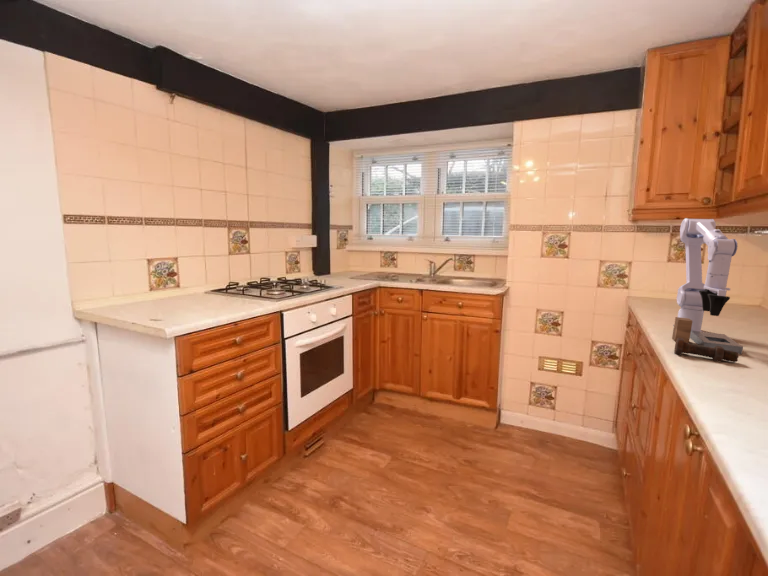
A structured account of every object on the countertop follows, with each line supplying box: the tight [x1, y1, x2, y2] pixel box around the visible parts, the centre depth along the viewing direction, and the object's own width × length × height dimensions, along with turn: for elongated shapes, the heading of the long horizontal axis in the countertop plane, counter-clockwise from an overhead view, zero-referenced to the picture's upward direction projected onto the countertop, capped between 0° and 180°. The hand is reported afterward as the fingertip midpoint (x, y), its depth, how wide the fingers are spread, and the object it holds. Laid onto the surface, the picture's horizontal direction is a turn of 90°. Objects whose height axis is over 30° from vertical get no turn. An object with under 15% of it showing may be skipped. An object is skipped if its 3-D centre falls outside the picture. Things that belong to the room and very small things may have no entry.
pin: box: [671, 316, 692, 343], centre depth 140 cm, size 4×4×8 cm
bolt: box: [673, 338, 740, 363], centre depth 122 cm, size 6×5×15 cm
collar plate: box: [690, 331, 744, 355], centre depth 136 cm, size 16×10×2 cm, turn 156°
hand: (710, 313), depth 138 cm, fingers open, 7 cm apart
